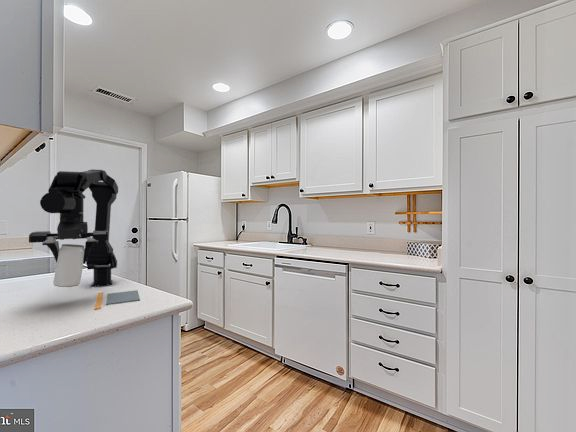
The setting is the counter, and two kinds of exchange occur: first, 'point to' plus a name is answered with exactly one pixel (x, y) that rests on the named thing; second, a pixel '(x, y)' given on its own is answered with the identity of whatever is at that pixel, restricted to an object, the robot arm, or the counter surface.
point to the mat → (122, 297)
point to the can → (69, 265)
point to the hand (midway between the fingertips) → (71, 264)
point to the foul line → (98, 301)
